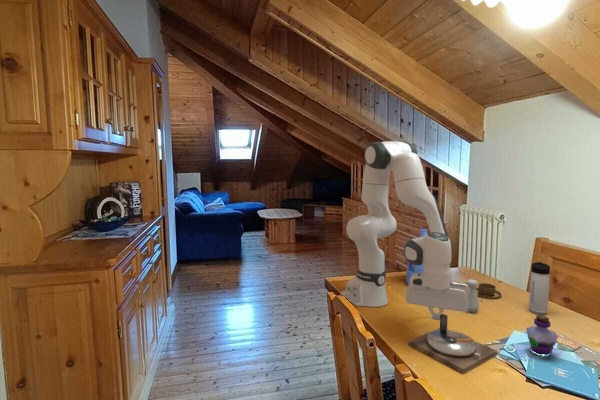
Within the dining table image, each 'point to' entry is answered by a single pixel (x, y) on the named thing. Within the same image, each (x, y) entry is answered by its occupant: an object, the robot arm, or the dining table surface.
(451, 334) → the dial
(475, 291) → the salt shaker
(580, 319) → the dining table surface
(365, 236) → the robot arm
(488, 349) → the stand
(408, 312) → the dining table surface
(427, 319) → the dining table surface
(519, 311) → the dining table surface
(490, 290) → the brown cup and saucer
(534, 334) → the potion bottle
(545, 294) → the travel mug
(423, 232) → the water jug
